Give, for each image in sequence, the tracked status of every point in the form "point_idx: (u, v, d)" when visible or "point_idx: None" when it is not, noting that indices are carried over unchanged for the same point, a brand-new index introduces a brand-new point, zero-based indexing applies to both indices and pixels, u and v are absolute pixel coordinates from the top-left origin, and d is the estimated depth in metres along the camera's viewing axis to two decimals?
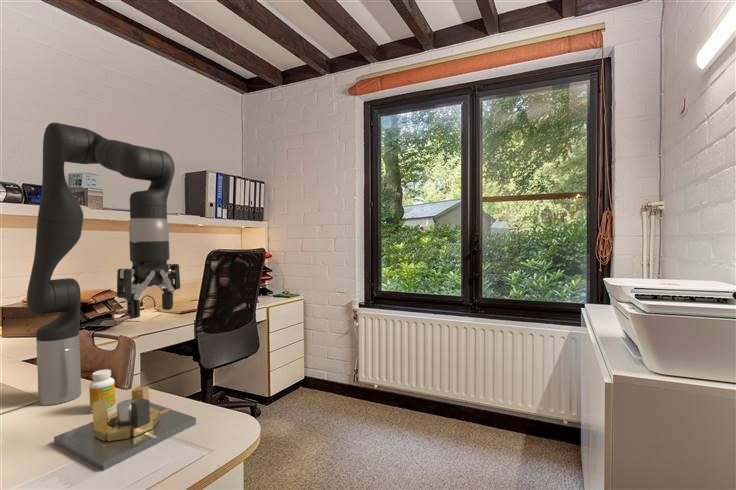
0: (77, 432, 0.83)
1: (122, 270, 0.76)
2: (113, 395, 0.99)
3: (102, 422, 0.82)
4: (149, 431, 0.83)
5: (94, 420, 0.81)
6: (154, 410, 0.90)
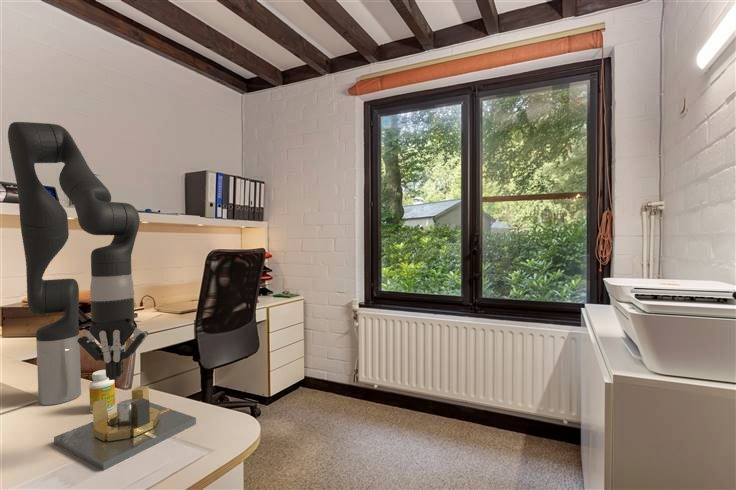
0: (77, 432, 0.83)
1: (146, 335, 0.81)
2: (113, 395, 0.99)
3: (102, 422, 0.82)
4: (149, 431, 0.83)
5: (94, 420, 0.81)
6: (154, 410, 0.90)
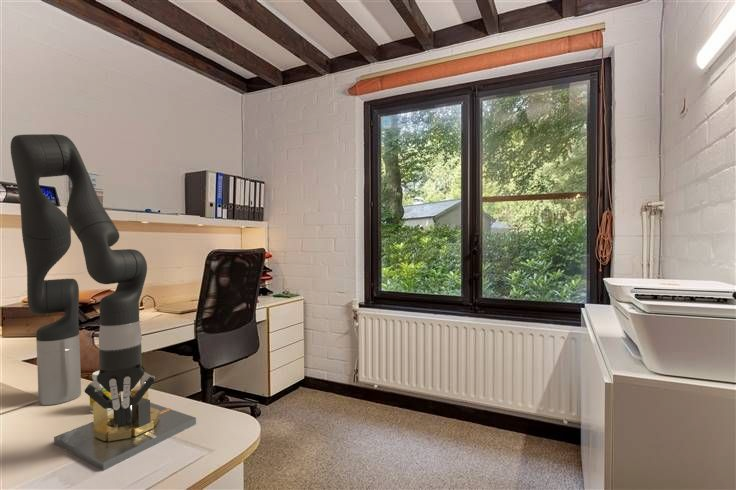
0: (77, 432, 0.83)
1: (154, 379, 0.83)
2: None
3: (102, 422, 0.82)
4: (149, 431, 0.83)
5: (94, 420, 0.81)
6: (154, 410, 0.90)
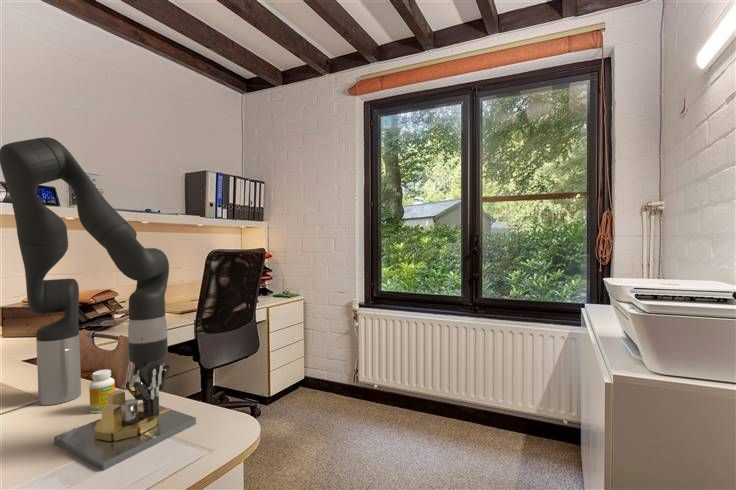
0: (77, 432, 0.83)
1: None
2: None
3: (119, 424, 0.81)
4: (149, 431, 0.83)
5: (114, 424, 0.79)
6: None
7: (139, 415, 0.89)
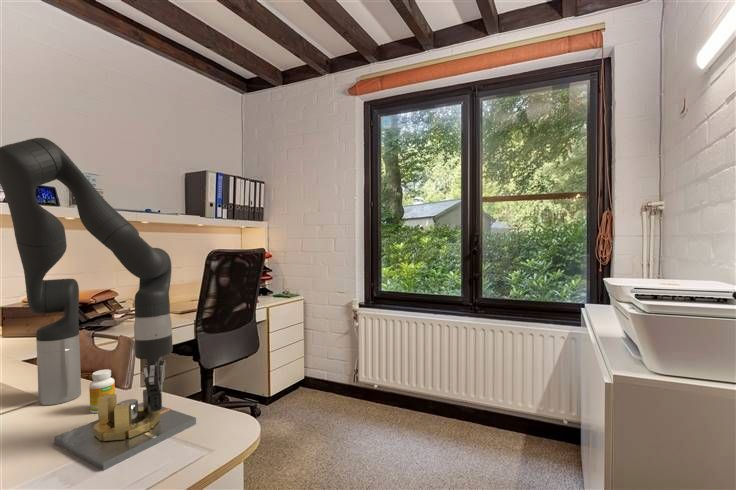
0: (77, 432, 0.83)
1: None
2: None
3: (130, 422, 0.82)
4: (149, 431, 0.83)
5: (129, 421, 0.80)
6: None
7: None
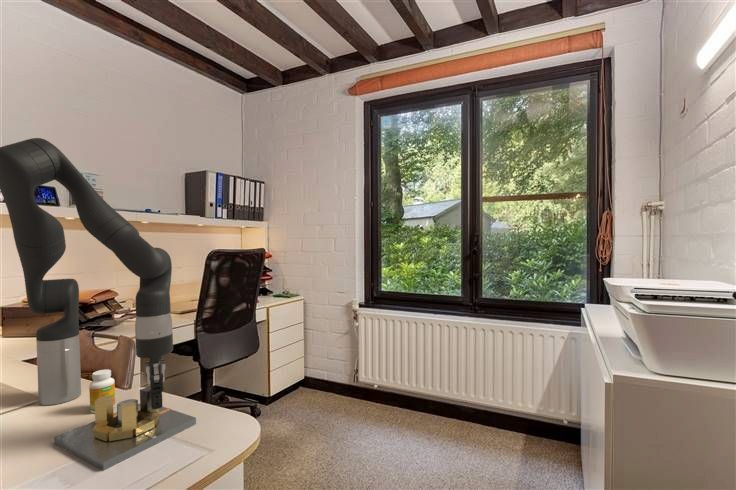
0: (77, 432, 0.83)
1: None
2: (113, 395, 0.99)
3: None
4: (149, 431, 0.83)
5: None
6: None
7: None
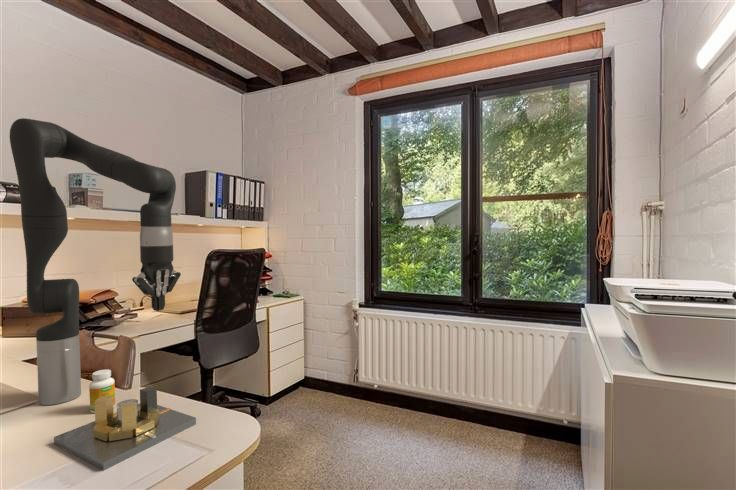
0: (77, 432, 0.83)
1: None
2: (113, 395, 0.99)
3: None
4: (149, 431, 0.83)
5: None
6: None
7: None
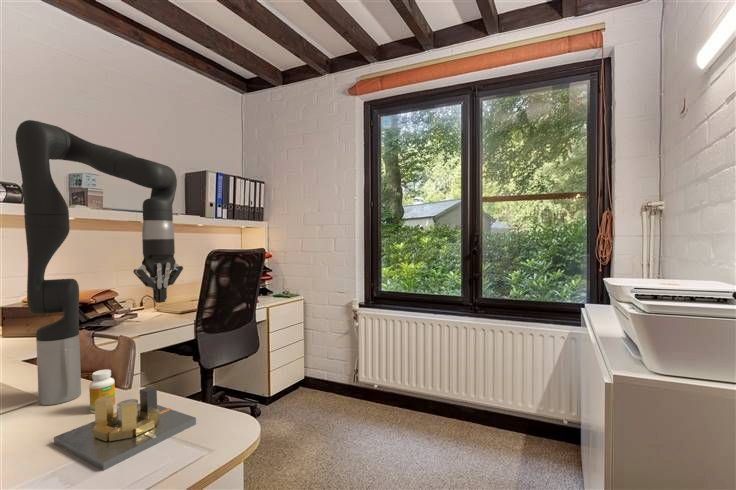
0: (77, 432, 0.83)
1: None
2: (113, 395, 0.99)
3: None
4: (149, 431, 0.83)
5: None
6: None
7: None
